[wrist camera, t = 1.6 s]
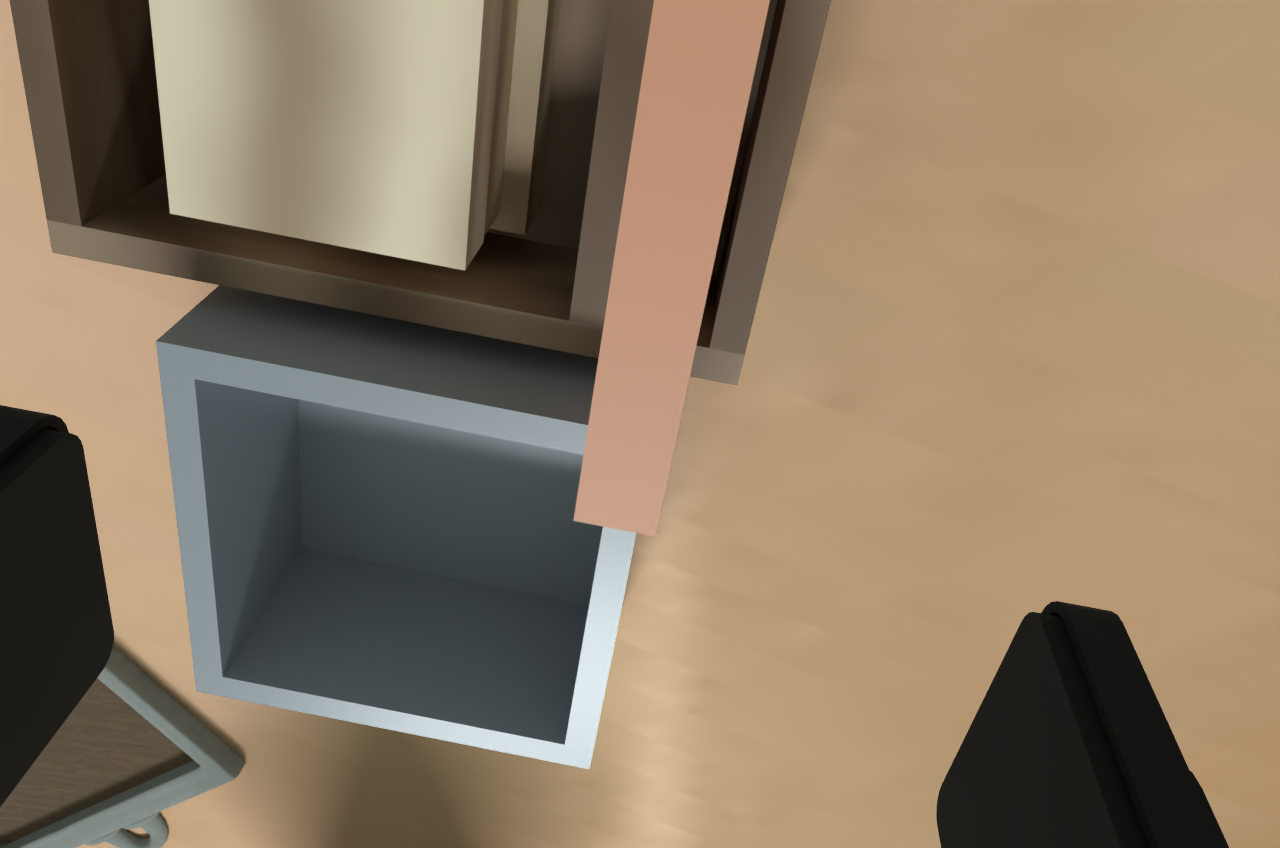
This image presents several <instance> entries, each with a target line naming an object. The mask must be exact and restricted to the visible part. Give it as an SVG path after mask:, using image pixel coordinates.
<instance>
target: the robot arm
mask: <svg viewBox="0 0 1280 848" xmlns="http://www.w3.org/2000/svg"><path fill="white" fill-rule="evenodd" d="M113 641H114V631H113V625H112V619H111V613H110V606H109V600H108V594H107V588H106V582H105V576H104V570H103V564H102V558H101V552H100V546H99V540H98V534H97V528H96V522H95V516H94V510H93V504H92V498H91V492H90V486H89V480H88V474H87V468H86V462H85V456H84V450H83V446H82V443H81V440H80V439H79V438H78V436H76V435H74V434H70V433H69V432H68V429H67V426H66V424H65V423H64V422H63V420H62V419H61V418H59V417H57V416H55V415H50V414H45V413H39V412H34V411H28V410H23V409H18V408H12V407H7V406H1V405H0V807H1V806H2V804H3V803H4V802H5V800H6V799H7V798H8V796H9V795H10V794H11V792H12V791H13V790H14V788H15V787H16V786H17V784H18V783H19V782H20V780H21V779H22V778H23V776H24V775H25V774H26V772H27V771H28V770H29V768H30V767H31V766H32V764H33V763H34V762H35V760H36V759H37V758H38V756H39V755H40V754H41V752H42V751H43V750H44V748H45V747H46V746H47V744H48V743H49V742H50V740H51V739H52V738H53V736H54V735H55V734H56V732H57V731H58V730H59V728H60V727H61V726H62V724H63V723H64V722H65V720H66V719H67V718H68V716H69V715H70V714H71V712H72V711H73V710H74V708H75V707H76V706H77V704H78V703H79V702H80V700H81V699H82V698H83V696H84V695H85V694H86V692H87V691H88V690H89V688H90V687H91V686H92V684H93V683H94V681H95V680H96V679H97V677H98V676H99V675H100V673H101V672H102V671H103V669H104V667H105V666H106V664H107V662H108V660H109V657H110V655H111V651H112V648H113ZM937 825H938V831H939V837H940V842H941V848H1229V846H1228V844H1227V842H1226V840H1225V838H1224V835H1223V833H1222V831H1221V829H1220V827H1219V825H1218V822H1217V820H1216V818H1215V816H1214V814H1213V811H1212V809H1211V807H1210V805H1209V803H1208V800H1207V798H1206V796H1205V794H1204V792H1203V789H1202V788H1201V786H1200V784H1199V783H1198V781H1197V779H1196V778H1195V776H1194V775H1193V773H1192V772H1191V771H1190V770H1189V769H1188V766H1187V764H1186V762H1185V760H1184V757H1183V755H1182V753H1181V751H1180V749H1179V746H1178V744H1177V742H1176V740H1175V737H1174V735H1173V733H1172V731H1171V729H1170V726H1169V724H1168V722H1167V720H1166V718H1165V715H1164V713H1163V711H1162V709H1161V706H1160V704H1159V702H1158V700H1157V698H1156V695H1155V693H1154V691H1153V689H1152V687H1151V684H1150V682H1149V680H1148V678H1147V675H1146V673H1145V671H1144V669H1143V667H1142V664H1141V662H1140V660H1139V658H1138V655H1137V653H1136V651H1135V649H1134V647H1133V644H1132V642H1131V640H1130V638H1129V636H1128V633H1127V631H1126V629H1125V627H1124V624H1123V622H1122V621H1121V619H1120V618H1119V616H1118V615H1117V614H1115V613H1113V612H1112V611H1107V610H1101V609H1096V608H1091V607H1085V606H1080V605H1074V604H1069V603H1064V602H1058V601H1056V602H1051V603H1050V604H1048V605H1047V606H1046V607H1045V608H1044V610H1043V611H1042V613H1036V612H1030V613H1028V614H1027V615H1026V616H1025V617H1024V619H1023V620H1022V622H1021V624H1020V626H1019V628H1018V630H1017V632H1016V634H1015V636H1014V638H1013V640H1012V642H1011V644H1010V647H1009V649H1008V651H1007V653H1006V655H1005V657H1004V659H1003V661H1002V663H1001V665H1000V667H999V669H998V671H997V673H996V675H995V677H994V679H993V681H992V683H991V685H990V687H989V689H988V691H987V694H986V696H985V698H984V700H983V702H982V704H981V706H980V708H979V710H978V712H977V714H976V716H975V718H974V720H973V722H972V724H971V726H970V728H969V730H968V732H967V734H966V736H965V738H964V741H963V743H962V745H961V747H960V749H959V751H958V753H957V755H956V757H955V759H954V761H953V763H952V765H951V767H950V769H949V771H948V773H947V775H946V777H945V779H944V781H943V783H942V786H941V789H940V791H939V796H938V801H937Z"/></svg>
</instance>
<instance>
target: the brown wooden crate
mask: <svg viewBox="0 0 1280 848" xmlns="http://www.w3.org/2000/svg"><path fill="white" fill-rule="evenodd" d="M830 2H831V0H770V2H769V7H768V12H767V16H766V21H765V26H764V31H763V35H762V40H761V45H760V49H759V54H758V59H757V63H756V68H755V73H754V77H753V82H752V87H751V92H750V96H749V101H748V106H747V110H746V115H745V120H744V124H743V129H742V134H741V139H740V143H739V148H738V153H737V157H736V162H735V167H734V171H733V176H732V181H731V185H730V190H729V195H728V200H727V204H726V209H725V214H724V218H723V223H722V228H721V232H720V237H719V242H718V246H717V251H716V256H715V261H714V265H713V270H712V275H711V279H710V284H709V289H708V293H707V298H706V303H705V307H704V312H703V317H702V322H701V326H700V331H699V336H698V340H697V345H696V350H695V354H694V359H693V364H692V369H691V373H690V376H691V377H697V378H702V379H707V380H712V381H717V382H722V383H727V384H733V385H737V384H738V379H739V375H740V371H741V367H742V363H743V359H744V355H745V351H746V347H747V343H748V338H749V334H750V330H751V326H752V322H753V318H754V314H755V310H756V306H757V301H758V297H759V293H760V289H761V285H762V281H763V277H764V273H765V269H766V265H767V260H768V256H769V252H770V248H771V244H772V240H773V236H774V232H775V228H776V224H777V219H778V215H779V211H780V207H781V203H782V199H783V195H784V191H785V187H786V182H787V178H788V174H789V170H790V166H791V162H792V158H793V154H794V150H795V146H796V141H797V137H798V133H799V129H800V125H801V121H802V117H803V113H804V109H805V105H806V100H807V96H808V92H809V88H810V84H811V80H812V76H813V72H814V68H815V63H816V59H817V55H818V51H819V47H820V43H821V39H822V35H823V31H824V27H825V22H826V18H827V14H828V10H829V6H830ZM653 3H654V0H561V1H560V11H559V20H558V29H557V39H556V48H555V57H554V66H553V76H552V85H551V94H550V104H549V113H548V122H547V131H546V141H545V150H544V159H543V168H542V178H541V187H540V196H539V206H538V213H537V214H536V216H535V218H534V220H533V221H532V223H531V225H530V227H529V228H528V230H527V232H526V234H525V235H522V234H516V233H511V232H506V231H501V230H496V229H490V228H489V229H488V231H487V232H486V234H485V235H484V242H483V244H482V246H481V247H480V249H479V250H478V252H477V253H476V255H475V256H474V258H473V259H472V261H471V262H470V264H469V265H468V267H467V269H466V270H459V269H454V268H449V267H444V266H439V265H433V264H428V263H423V262H418V261H413V260H408V259H402V258H397V257H392V256H387V255H382V254H377V253H371V252H366V251H361V250H356V249H351V248H346V247H340V246H335V245H330V244H325V243H320V242H315V241H309V240H304V239H299V238H294V237H289V236H283V235H278V234H273V233H268V232H263V231H258V230H252V229H247V228H242V227H237V226H232V225H227V224H221V223H216V222H211V221H206V220H201V219H196V218H190V217H185V216H180V215H175V214H170V209H169V199H168V189H167V179H166V169H165V159H164V149H163V138H162V128H161V118H160V108H159V98H158V88H157V78H156V68H155V58H154V48H153V38H152V28H151V18H150V7H149V0H10V5H11V11H12V17H13V22H14V28H15V34H16V40H17V46H18V52H19V58H20V64H21V70H22V76H23V82H24V87H25V93H26V99H27V105H28V111H29V117H30V123H31V129H32V135H33V141H34V147H35V153H36V158H37V164H38V170H39V176H40V182H41V188H42V194H43V200H44V206H45V212H46V218H47V223H48V229H49V235H50V241H51V247H52V253H57V254H62V255H68V256H73V257H78V258H83V259H88V260H93V261H99V262H104V263H109V264H114V265H119V266H124V267H129V268H135V269H140V270H145V271H150V272H155V273H160V274H166V275H171V276H176V277H181V278H186V279H191V280H196V281H202V282H207V283H212V284H217V285H222V286H227V287H233V288H238V289H243V290H248V291H253V292H258V293H264V294H269V295H274V296H279V297H284V298H289V299H294V300H300V301H305V302H310V303H315V304H320V305H325V306H331V307H336V308H341V309H346V310H351V311H356V312H361V313H367V314H372V315H377V316H382V317H387V318H392V319H398V320H403V321H408V322H413V323H418V324H423V325H428V326H434V327H439V328H444V329H449V330H454V331H459V332H465V333H470V334H475V335H480V336H485V337H490V338H495V339H501V340H506V341H511V342H516V343H521V344H526V345H532V346H537V347H542V348H547V349H552V350H557V351H563V352H568V353H573V354H578V355H583V356H588V357H593V358H599V352H600V346H601V339H602V333H603V326H604V320H605V313H606V307H607V300H608V294H609V288H610V281H611V275H612V268H613V262H614V255H615V249H616V242H617V236H618V229H619V223H620V216H621V210H622V204H623V197H624V191H625V184H626V178H627V171H628V165H629V158H630V152H631V145H632V139H633V132H634V126H635V119H636V113H637V107H638V100H639V94H640V87H641V81H642V74H643V68H644V61H645V55H646V48H647V42H648V35H649V29H650V23H651V16H652V10H653Z"/></svg>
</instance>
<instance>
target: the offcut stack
mask: <svg viewBox="0 0 1280 848" xmlns="http://www.w3.org/2000/svg"><path fill="white" fill-rule="evenodd" d="M560 1H561V0H149V7H150V18H151V28H152V38H153V48H154V58H155V68H156V78H157V88H158V98H159V108H160V118H161V128H162V138H163V149H164V159H165V169H166V179H167V189H168V199H169V209H170V214H175V215H180V216H185V217H190V218H196V219H201V220H206V221H211V222H216V223H221V224H227V225H232V226H237V227H242V228H247V229H252V230H258V231H263V232H268V233H273V234H278V235H283V236H289V237H294V238H299V239H304V240H309V241H315V242H320V243H325V244H330V245H335V246H340V247H346V248H351V249H356V250H361V251H366V252H371V253H377V254H382V255H387V256H392V257H397V258H402V259H408V260H413V261H418V262H423V263H428V264H433V265H439V266H444V267H449V268H454V269H459V270H466V269H467V267H468V265H469V264H470V262H471V261H472V259H473V258H474V256H475V255H476V253H477V252H478V250H479V249H480V247H481V246H482V244H483V242H484V235H485V234H486V232H487V231H488V229H489V228H490V229H496V230H501V231H506V232H511V233H516V234H522V235H525V234H526V232H527V230H528V228H529V227H530V225H531V223H532V221H533V220H534V218H535V216H536V214H537V213H538V206H539V196H540V187H541V178H542V168H543V159H544V150H545V141H546V131H547V122H548V113H549V104H550V94H551V85H552V76H553V66H554V57H555V48H556V39H557V29H558V20H559V11H560Z"/></svg>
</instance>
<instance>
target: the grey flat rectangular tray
mask: <svg viewBox="0 0 1280 848" xmlns="http://www.w3.org/2000/svg"><path fill="white" fill-rule="evenodd" d="M244 764H245V761H244V760H243V759H242V758H241V757H240V756H239V755H238V754H236V753H235V752H234V751H233V750H232V749H231V748H230V747H228V746H227V745H226V744H225V743H224V742H223V741H222V740H220V739H219V738H218V737H217V736H216V735H215V734H214V733H212V732H211V731H210V730H209V729H208V728H207V727H206V726H204V725H203V724H202V723H201V722H200V721H199V720H198V719H196V718H195V717H194V716H193V715H192V714H191V713H189V712H188V711H187V710H186V709H185V708H184V707H183V706H181V705H180V704H179V703H178V702H177V701H176V700H175V699H173V698H172V697H171V696H170V695H169V694H168V693H167V692H165V691H164V690H163V689H162V688H161V687H160V686H159V685H157V684H156V683H155V682H154V681H153V680H152V679H150V678H149V677H148V676H147V675H146V674H145V673H144V672H142V671H141V670H140V669H139V668H138V667H137V666H136V665H134V664H133V663H132V662H131V661H130V660H129V659H128V658H126V657H125V656H124V655H123V654H122V653H121V652H119V651H118V650H117V649H116V648H115V647H114V646H113V648H112V651H111V655H110V657H109V660H108V662H107V664H106V666H105V667H104V669H103V671H102V672H101V673H100V675H99V676H98V677H97V679H96V680H95V681H94V683H93V684H92V686H91V687H90V688H89V690H88V691H87V692H86V694H85V695H84V696H83V698H82V699H81V700H80V702H79V703H78V704H77V706H76V707H75V708H74V710H73V711H72V712H71V714H70V715H69V716H68V718H67V719H66V720H65V722H64V723H63V724H62V726H61V727H60V728H59V730H58V731H57V732H56V734H55V735H54V736H53V738H52V739H51V740H50V742H49V743H48V744H47V746H46V747H45V748H44V750H43V751H42V752H41V754H40V755H39V756H38V758H37V759H36V760H35V762H34V763H33V764H32V766H31V767H30V768H29V770H28V771H27V772H26V774H25V775H24V776H23V778H22V779H21V780H20V782H19V783H18V784H17V786H16V787H15V788H14V790H13V791H12V792H11V794H10V795H9V796H8V798H7V799H6V800H5V802H4V803H3V804H2V806H1V807H0V848H76V847H78V846H80V845H83V844H86V845H90V846H91V845H97V844H100V843H103V842H105V841H106V842H108V843H110V844H112V845H115V846H117V847H120V848H161V847H162V846H163V845H164V843H165V842H166V841H167V838H168V834H169V833H168V827H167V824H166V822H165V820H164V819H163V817H162V816H161V815H160V813H159V812H160V811H162V810H164V809H167V808H169V807H171V806H174V805H176V804H178V803H181V802H183V801H185V800H188V799H190V798H192V797H195V796H197V795H199V794H202V793H204V792H206V791H209V790H211V789H213V788H216V787H218V786H220V785H223V784H225V783H227V782H229V781H231V780H233V779H235V778H236V777H237V776H238V775H239V773H240V772H241V770H242V768H243V766H244ZM138 827H142V828H143V829H144V830H145V831H146V832H147V833H148V834H149V835H150V837H147V838H142V837H138V836H135V835H133V834H131V833H130V832H128V831H127V830H125V829H135V828H138Z"/></svg>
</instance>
